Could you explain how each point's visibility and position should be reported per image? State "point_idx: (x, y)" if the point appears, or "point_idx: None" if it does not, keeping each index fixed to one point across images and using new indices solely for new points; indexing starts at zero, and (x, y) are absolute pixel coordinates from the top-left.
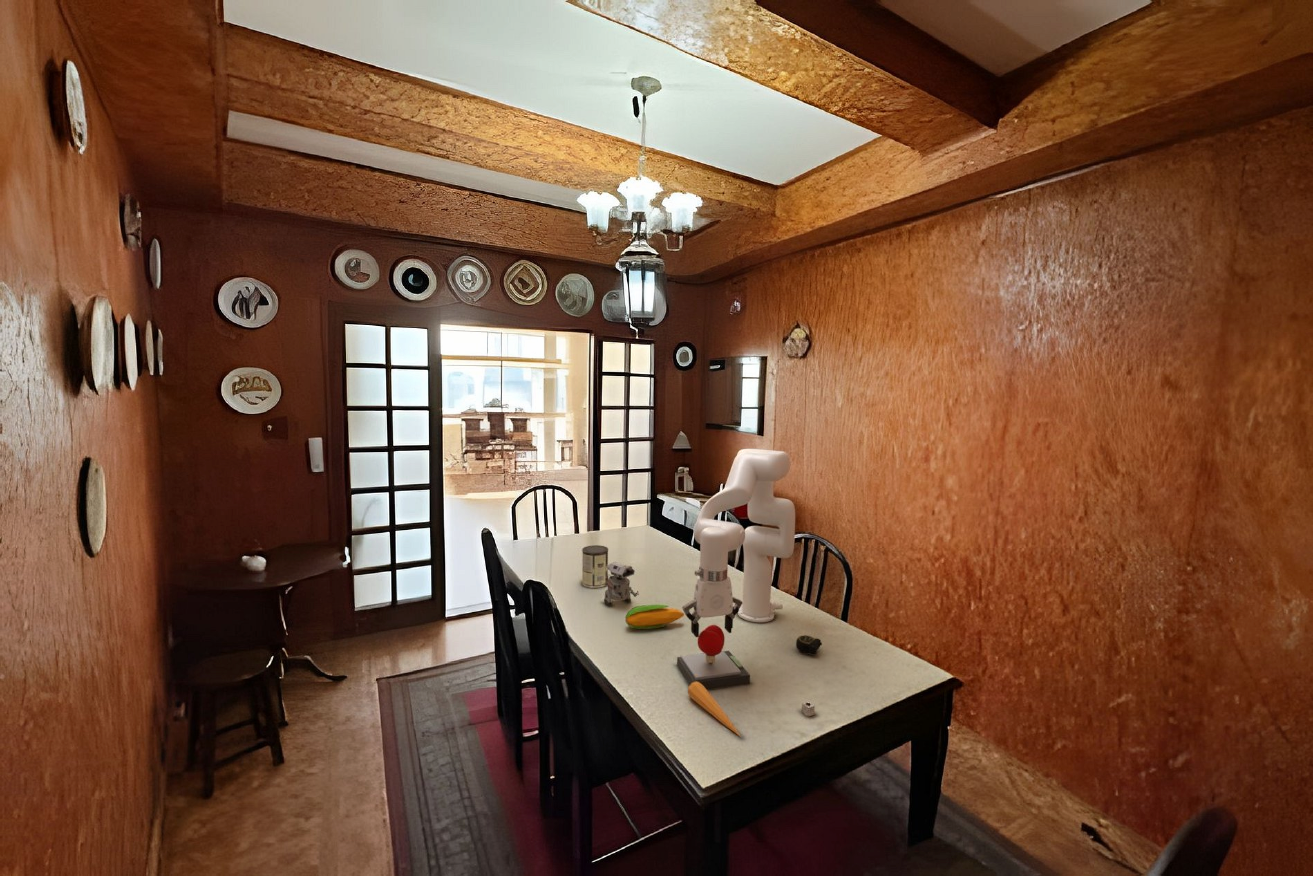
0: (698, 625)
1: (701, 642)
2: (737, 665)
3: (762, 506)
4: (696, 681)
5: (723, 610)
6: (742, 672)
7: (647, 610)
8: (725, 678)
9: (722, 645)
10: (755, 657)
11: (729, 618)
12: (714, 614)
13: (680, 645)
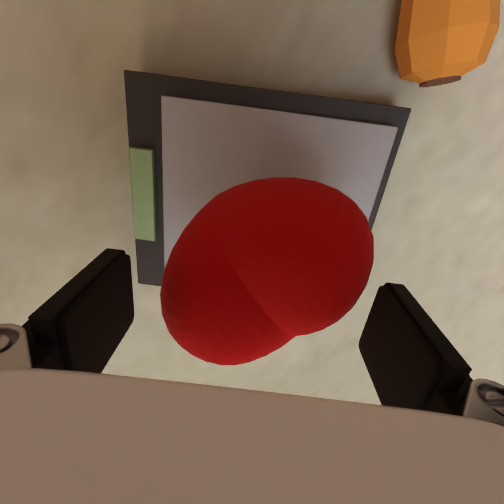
0: (439, 351)
1: (372, 238)
2: (152, 162)
3: None
4: (446, 63)
5: (61, 478)
6: (151, 107)
7: None
8: (254, 88)
9: (214, 199)
10: (50, 242)
11: (49, 346)
12: (304, 427)
13: (261, 376)
